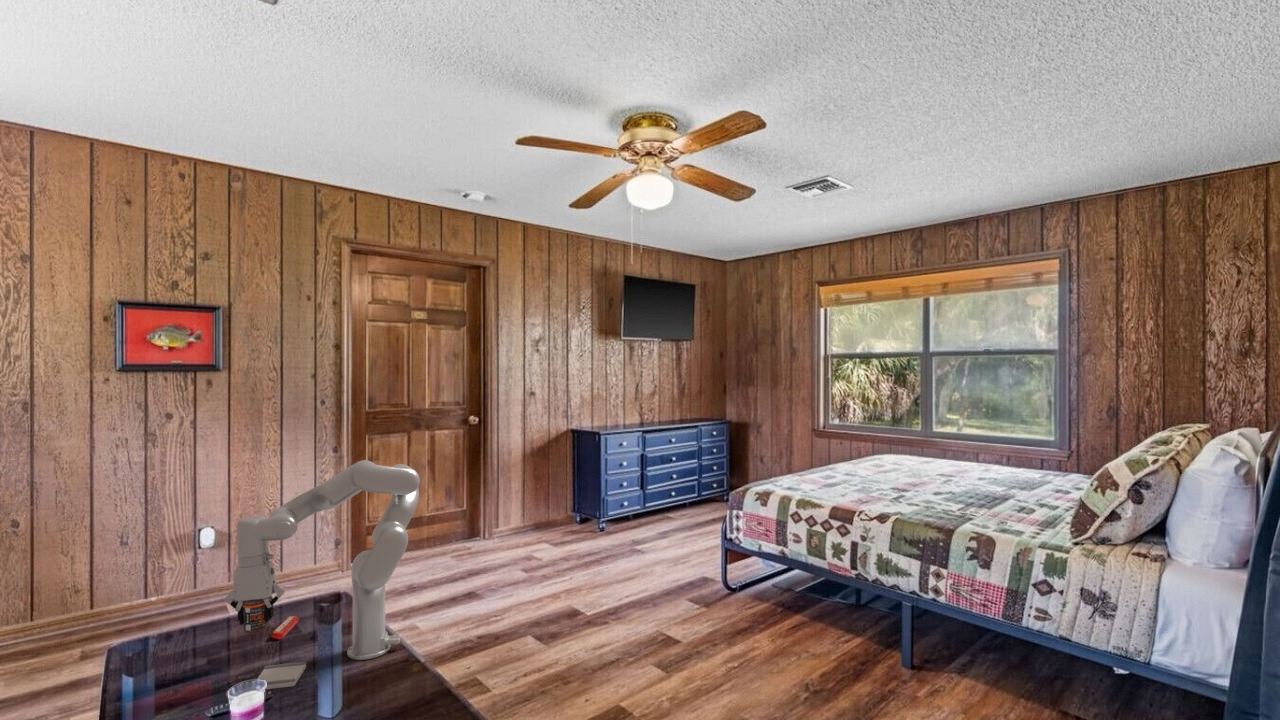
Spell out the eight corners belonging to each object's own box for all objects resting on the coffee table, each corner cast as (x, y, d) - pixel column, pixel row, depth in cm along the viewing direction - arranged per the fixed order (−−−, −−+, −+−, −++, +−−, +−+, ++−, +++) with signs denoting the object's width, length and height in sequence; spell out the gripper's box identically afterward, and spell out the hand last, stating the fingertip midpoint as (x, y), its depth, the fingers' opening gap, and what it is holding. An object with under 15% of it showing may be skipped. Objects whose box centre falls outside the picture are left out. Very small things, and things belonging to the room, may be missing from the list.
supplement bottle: (249, 636, 172) (248, 596, 172) (239, 631, 175) (238, 592, 175) (272, 627, 177) (270, 589, 177) (262, 623, 180) (260, 585, 180)
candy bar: (281, 641, 200) (281, 632, 200) (269, 642, 200) (269, 633, 200) (300, 621, 216) (300, 613, 216) (289, 622, 216) (289, 613, 216)
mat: (306, 667, 183) (306, 661, 183) (294, 685, 172) (294, 679, 172) (265, 671, 180) (265, 666, 180) (250, 691, 169) (251, 684, 169)
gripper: (290, 552, 182) (293, 612, 182) (226, 558, 178) (228, 619, 178) (281, 561, 174) (283, 623, 174) (214, 567, 171) (216, 631, 171)
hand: (256, 620), depth 176 cm, fingers closed on supplement bottle, 6 cm apart
